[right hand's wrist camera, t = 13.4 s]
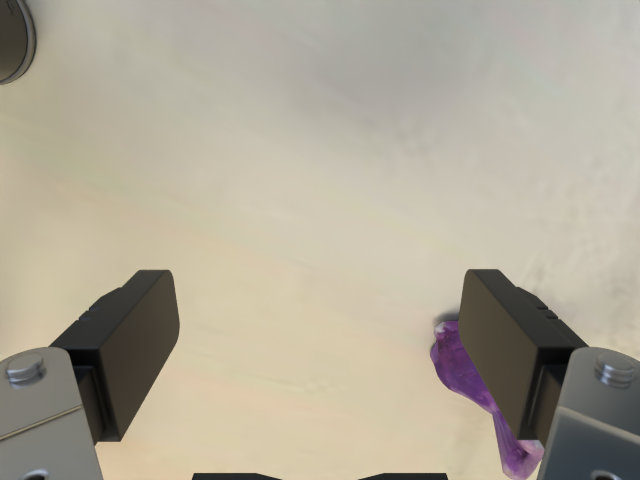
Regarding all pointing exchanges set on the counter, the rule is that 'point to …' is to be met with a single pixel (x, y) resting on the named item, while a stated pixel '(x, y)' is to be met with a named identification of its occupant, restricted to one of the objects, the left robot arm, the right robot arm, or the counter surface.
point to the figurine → (481, 400)
